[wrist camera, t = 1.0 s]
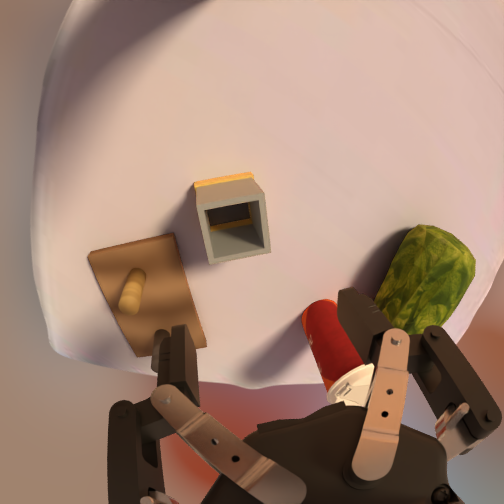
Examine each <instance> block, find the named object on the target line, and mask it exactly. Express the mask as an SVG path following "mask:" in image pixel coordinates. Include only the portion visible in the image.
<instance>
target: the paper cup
mask: <svg viewBox="0 0 504 504" xmlns="http://www.w3.org/2000/svg"><path fill="white" fill-rule="evenodd" d="M302 325H303V328H304V331H305V334H306V336H307V339H308V342H309V344H310V347H311V350H312V352H313V355H314V358H315V360H316V363H317V366H318V368H319V371H320V374H321V376H322V379H323V382H324V384H325V387H326V390H327V401H328V402H329V403H331V404H335V403H338V402H340V401H343V400H344V403H345V405H346V406H347V405H355V406H362V405H364V403H365V400H366V397H367V394H368V390H369V386H370V382H371V378H372V373H373V369H374V365H373V364H372V363H371V364H369V365H366V366H365V364H364V363H363V361H362V359H361V357H360V356H359V354H358V352H357V351H356V349H355V347H354V346H353V344H352V342H351V341H350V339H349V337H348V336H347V334H346V332H345V331H344V329H343V327H342V326H341V324H340V322H339V320H338V317H337V304H336V303H335V302H334V301H332V300H329V299H323V300H319V301H316V302H314V303H312V304H311V305H310V306H308V307H307V308H306V310H305V311H304V313H303V315H302ZM359 404H360V405H359Z"/></svg>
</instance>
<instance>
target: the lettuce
mask: <svg viewBox="0 0 504 504" xmlns="http://www.w3.org/2000/svg"><path fill="white" fill-rule="evenodd" d="M475 264H476V260H475V258H474V257H473V255H472V253H471V252H470V250H469V249H468V247H467V246H466V245H464V244H463V243H462V242H461V241H460V240H459V239H457V238H456V237H455V236H454V235H453V234H451V233H449V232H447V231H444V230H442V229H440V228H437V227H435V226H430V225H417V226H416V227H415V228H413V229H412V230H411V231H409V232H408V233H407V235H406V237H405V238H404V240H403V242H402V243H401V245H400V247H399V249H398V251H397V253H396V255H395V257H394V259H393V261H392V263H391V265H390V268H389V270H388V273H387V275H386V277H385V279H384V281H383V283H382V285H381V287H380V289H379V291H378V293H377V295H376V298H375V300H374V303H375V304H376V306H378V308H379V309H380V311H382V313H383V314H384V315H385V317H386V318H387V319H388V320H389V322H390V323H391V324H392V326H393V327H394V328H396V329H401V330H403V331H405V332H406V333H407V334H408V335H413V334H422V333H423V331H424V329H425V328H426V327H427V326H430V325H437V326H440V327H441V326H442V325H443V324H444V323H445V322H446V321H447V320H448V319H449V317H450V316H451V315H452V313H453V312H454V310H455V309H456V307H457V306H458V304H459V303H460V301H461V299H462V298H463V296H464V294H465V292H466V290H467V289H468V287H469V285H470V283H471V282H472V280H473V278H474V276H475Z"/></svg>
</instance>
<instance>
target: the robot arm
mask: <svg viewBox="0 0 504 504" xmlns="http://www.w3.org/2000/svg"><path fill="white" fill-rule="evenodd" d="M337 317H338V320H339V322H340V324H341V326H342V327H343V329H344V331H345V332H346V334H347V336H348V337H349V339H350V341H351V342H352V344H353V346H354V347H355V349H356V351H357V352H358V354H359V356H360V357H361V359H362V361H363V363H364V364H365V366H366V365H369V364H371V363H372V364H373V365H374V369H373V373H372V378H371V382H370V386H369V390H368V394H367V397H366V400H365V403H364V407H362V406H355V405H347V406H346V405H345V403H344V400H343V401H340V402H338V403H335V404H332V405H329V406H325V407H323V408H321V409H319V410H318V411H316V412H314V413H313V414H311V415H309V416H307V417H305V418H302V419H285V420H276V421H271V422H267V423H262V424H258V425H257V428H258V430H257V431H255V432H253V433H251V434H249V435H248V436H247V437H245V438H244V439H243V440H241V439H239V438H238V437H237V436H235V435H234V434H233V433H232V432H230V431H229V430H228V429H226V428H225V427H224V426H222V425H221V424H220V423H219V422H218V421H216V420H215V419H214V418H213V417H212V416H211V415H209V414H208V413H204V412H202V411H201V410H200V409H199V408H198V407H200V399H199V385H198V370H197V354H196V348H195V345H194V342H193V339H192V337H191V334H190V332H189V329H188V326H187V324H182V325H176V326H172V328H171V337H165V338H164V339H163V341H162V342H161V344H160V348H159V362H158V378H157V388H156V389H155V390H154V391H153V392H152V394H151V397H149V398H148V399H146V400H143V401H141V402H138V403H136V404H132V403H131V402H130V401H126V400H122V401H118V402H116V403H115V404H114V405H113V406H112V407H111V409H110V412H109V424H108V425H109V426H108V453H107V470H108V471H107V476H108V500H109V504H179V503H178V502H177V501H176V500H175V499H174V498H172V497H170V496H168V495H166V494H165V487H164V479H163V470H162V461H161V451H160V439H161V438H164V437H166V436H169V435H171V434H174V433H177V434H178V435H179V436H180V437H181V438H182V439H183V440H184V441H185V442H186V443H187V444H188V445H189V446H190V447H191V448H192V449H193V450H194V451H195V452H196V453H197V454H198V455H199V456H200V457H201V458H202V459H203V460H205V461H206V462H207V463H208V464H209V465H210V466H211V467H212V468H213V469H215V470H216V471H217V472H218V473H219V474H220V475H219V476H218V478H217V480H216V481H215V483H214V484H213V486H212V487H211V489H210V490H209V492H208V493H207V495H206V496H205V498H204V499H203V501H202V502H201V504H465V503H464V502H463V501H462V500H461V499H460V498H459V497H458V496H457V495H456V494H455V492H454V491H453V490H452V489H451V487H450V486H449V483H448V478H447V461H449V460H450V459H452V458H454V457H455V456H457V455H458V454H459V455H463V454H466V453H468V452H469V451H470V450H472V449H473V448H474V447H475V446H477V445H478V444H479V443H480V442H481V441H483V440H484V439H485V438H486V437H487V436H489V435H490V434H491V433H492V432H493V431H494V430H495V429H496V428H498V426H499V425H500V423H501V420H502V414H501V411H500V409H499V407H498V406H497V404H496V402H495V401H494V399H493V398H492V396H491V395H490V393H489V392H488V390H487V389H486V387H485V385H484V384H483V382H482V381H481V379H480V378H479V377H478V375H477V373H476V372H475V371H474V369H473V368H472V367H471V365H470V363H469V362H468V361H467V359H466V358H465V356H464V355H463V354H462V353H461V351H460V350H459V349H458V347H457V346H456V344H455V343H454V342H453V340H452V339H451V338H450V336H449V335H448V334H447V333H446V331H445V330H444V329H443V328H442V327H440V326H437V325H430V326H427V327H426V328H425V329H424V331H423V333H422V334H413V335H408V334H407V333H406V332H405V331H403V330H401V329H396V328H394V327H393V326H392V324H391V323H390V322H389V320H388V319H387V318H386V317H385V315H384V314H383V313H382V311H380V309H379V308H378V306H376V304H375V303H374V301H373V300H372V299H371V298H370V297H368V296H366V295H365V294H360V295H359V294H358V292H357V291H356V290H355V288H353V287H350V288H346V289H342V290H339V292H338V304H337ZM411 373H412V375H413V377H414V378H415V380H416V382H417V384H418V385H419V387H420V389H421V391H422V392H423V394H424V396H425V398H426V400H427V401H428V403H429V405H430V407H431V409H432V411H433V412H434V414H435V416H436V418H437V422H436V424H435V431H436V436H437V439H436V438H434V437H432V436H430V435H427V434H425V433H422V432H420V431H417V430H415V429H413V428H410V427H408V426H406V425H403V424H401V419H402V414H403V409H404V403H405V397H406V391H407V383H408V377H409V374H411Z"/></svg>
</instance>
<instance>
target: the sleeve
mask: <svg viewBox="0 0 504 504" xmlns="http://www.w3.org/2000/svg"><path fill="white" fill-rule="evenodd" d="M194 188H195V193H196V207H197V212H198V216H199V221H200V226H201V230H202V235H203V239H204V244H205V248H206V252H207V257H208V261H209V265H211V264H216V263H221V262H226V261H231V260H236V259H241V258H246V257H251V256H256V255H261V254H266V253H271V247H270V238H269V229H268V220H267V211H266V202H265V194H264V192H263V190H262V189H261V188H260V187H259V186H258V184H257V183H256V182H255V181H254V176H253V174H252V173H251V172H247V173H241V174H235V175H229V176H224V177H218V178H213V179H208V180H203V181H198V182H194ZM245 202H248V208H249V215H250V219H244V220H239V221H234V222H229V223H223V224H218V225H213V226H210V222H209V217H208V212H207V210H208V209H213V208H218V207H223V206H228V205H234V204H239V203H245Z"/></svg>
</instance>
